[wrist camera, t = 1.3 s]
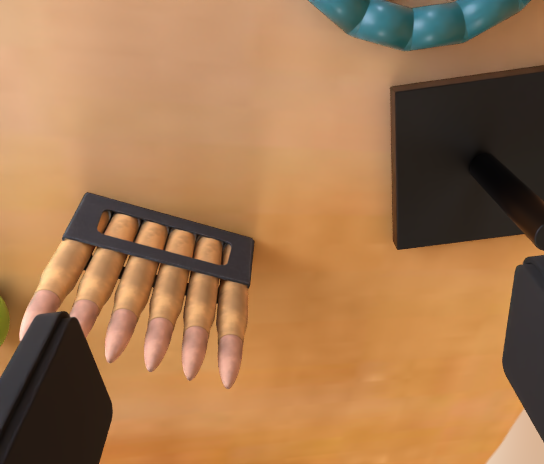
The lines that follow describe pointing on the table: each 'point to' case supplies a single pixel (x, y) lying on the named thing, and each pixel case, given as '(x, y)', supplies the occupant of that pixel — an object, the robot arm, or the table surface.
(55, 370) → the robot arm
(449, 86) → the stand
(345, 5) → the ring
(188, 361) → the ammunition clip
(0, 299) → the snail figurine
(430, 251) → the table surface
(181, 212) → the table surface
